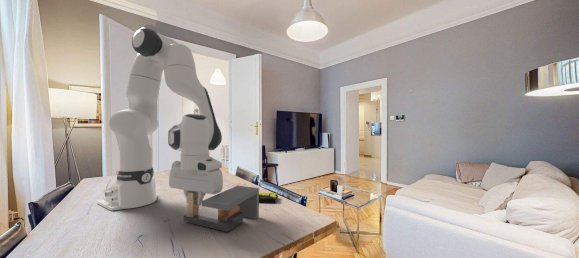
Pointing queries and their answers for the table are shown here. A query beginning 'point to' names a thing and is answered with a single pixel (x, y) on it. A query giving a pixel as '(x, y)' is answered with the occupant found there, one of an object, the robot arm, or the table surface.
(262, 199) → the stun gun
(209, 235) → the table surface
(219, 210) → the cube
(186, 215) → the tan-tipped l-shaped bar
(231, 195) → the grey l-shaped bookend
